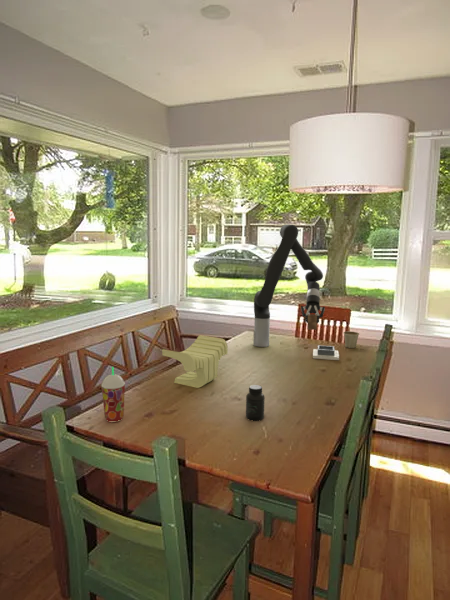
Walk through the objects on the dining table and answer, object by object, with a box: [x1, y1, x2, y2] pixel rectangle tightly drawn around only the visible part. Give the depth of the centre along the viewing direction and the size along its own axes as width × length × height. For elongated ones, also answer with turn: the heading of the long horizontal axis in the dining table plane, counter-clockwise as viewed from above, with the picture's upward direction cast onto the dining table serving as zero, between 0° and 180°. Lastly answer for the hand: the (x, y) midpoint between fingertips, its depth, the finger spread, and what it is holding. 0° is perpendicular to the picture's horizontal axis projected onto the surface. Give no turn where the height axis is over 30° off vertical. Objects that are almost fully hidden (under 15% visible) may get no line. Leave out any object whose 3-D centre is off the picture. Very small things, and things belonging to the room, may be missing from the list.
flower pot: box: [342, 330, 360, 349], centre depth 261 cm, size 9×9×9 cm
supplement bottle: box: [245, 384, 266, 422], centre depth 161 cm, size 7×7×12 cm
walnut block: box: [307, 313, 318, 331], centre depth 245 cm, size 5×4×8 cm
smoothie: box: [100, 366, 126, 421], centre depth 157 cm, size 8×8×20 cm
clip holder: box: [312, 345, 340, 361], centre depth 242 cm, size 14×14×4 cm
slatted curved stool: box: [161, 334, 229, 389], centre depth 198 cm, size 30×16×18 cm, turn 151°
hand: (312, 322), depth 244 cm, fingers closed on walnut block, 5 cm apart
